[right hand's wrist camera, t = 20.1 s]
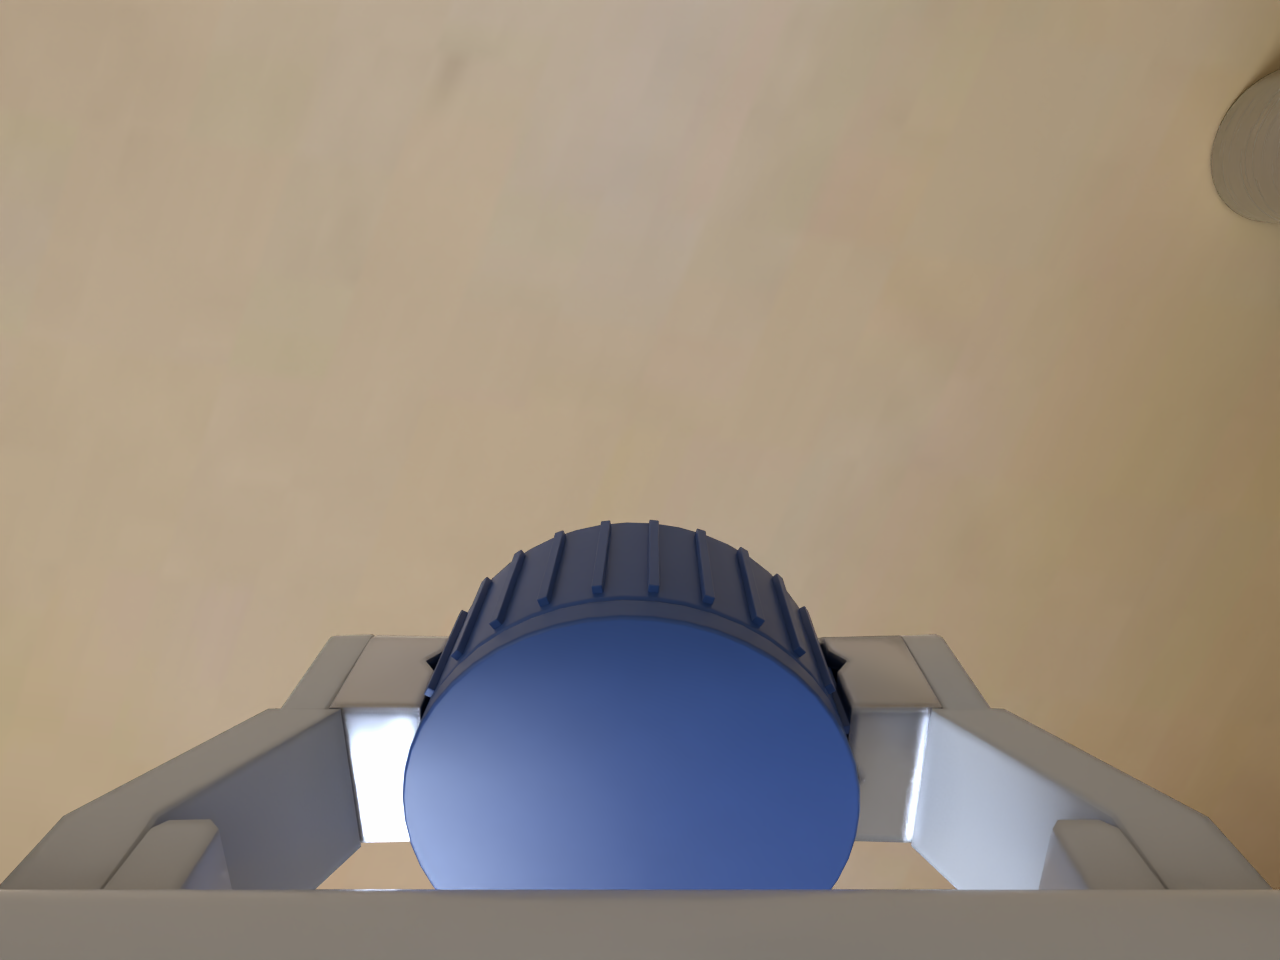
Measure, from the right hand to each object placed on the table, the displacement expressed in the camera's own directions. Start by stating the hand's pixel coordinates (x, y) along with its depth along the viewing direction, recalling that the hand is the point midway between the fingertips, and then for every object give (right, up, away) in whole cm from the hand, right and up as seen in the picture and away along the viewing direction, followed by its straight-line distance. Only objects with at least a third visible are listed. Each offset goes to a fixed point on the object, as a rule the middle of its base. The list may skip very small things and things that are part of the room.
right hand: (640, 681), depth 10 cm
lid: (0, -1, -2) cm, 2 cm away
